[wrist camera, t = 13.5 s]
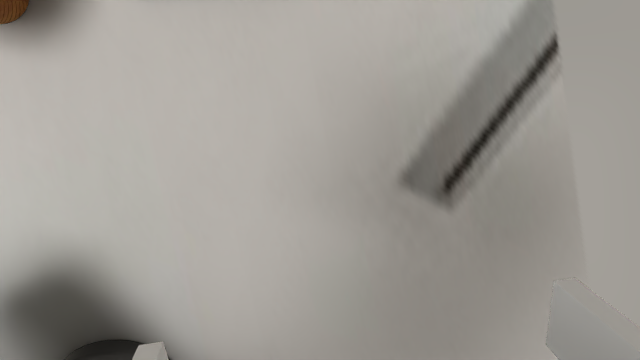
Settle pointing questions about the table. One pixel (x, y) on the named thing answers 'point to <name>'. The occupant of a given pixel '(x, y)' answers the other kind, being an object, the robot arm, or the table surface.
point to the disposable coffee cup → (12, 10)
